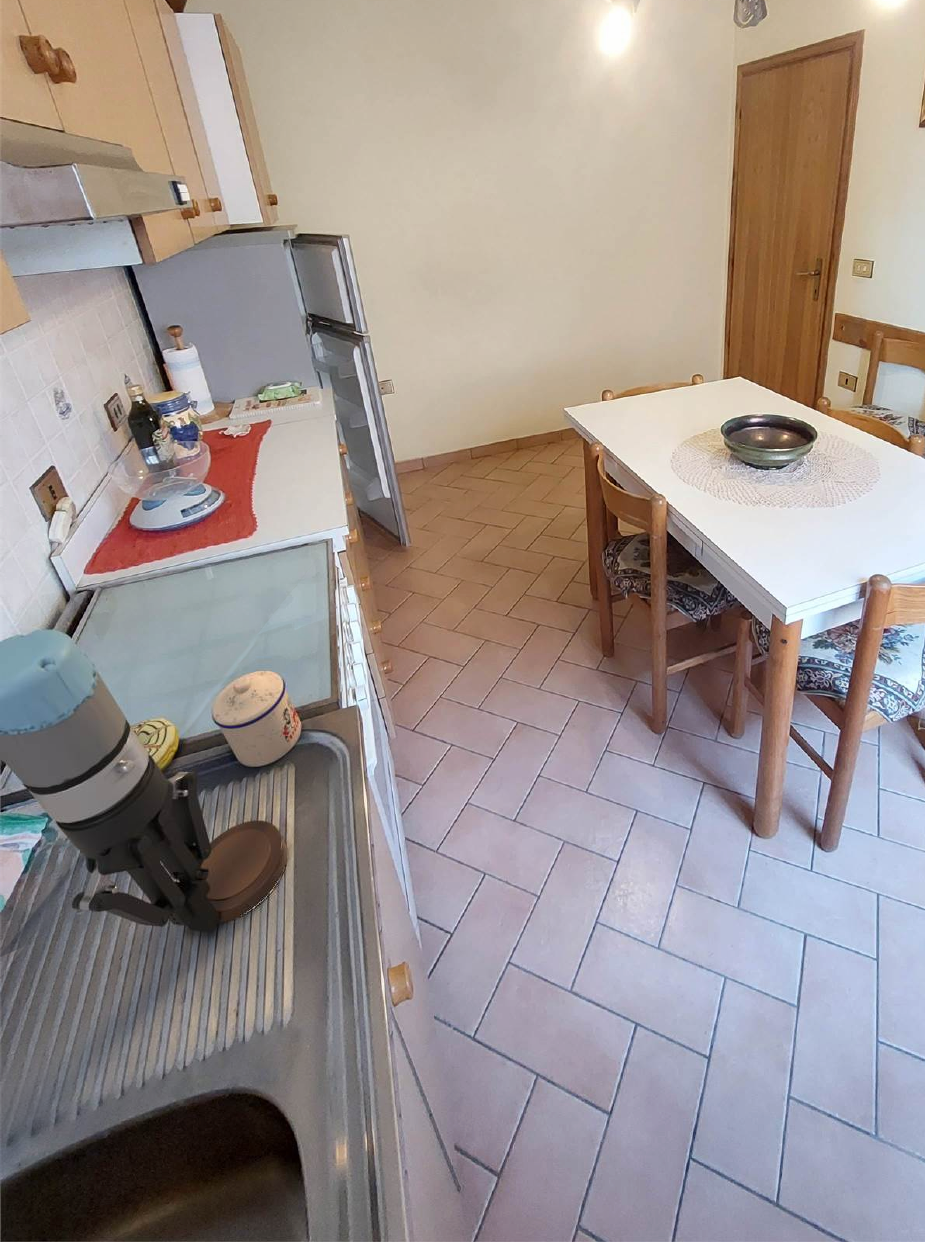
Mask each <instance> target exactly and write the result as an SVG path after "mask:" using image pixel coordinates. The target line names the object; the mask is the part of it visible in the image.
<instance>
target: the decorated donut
mask: <svg viewBox="0 0 925 1242" xmlns="http://www.w3.org/2000/svg"><path fill="white" fill-rule="evenodd" d="M130 726H131V727H132V729H133V730H134V732H135V733H136V735H137V736H138V738H139V739H140V741H141V742H142V744H143V745H144V747H145V749H146V750H147V752H148V754H149V755H150V756H151V757H152V758H153V759H154V761H155V762H156V764H157V766H158V767H159V769H160V770H161V772H162V773H163V771H164V770H165V769H166V768H167V767H168V766H169V765H170V764H171V762H172V761H173V759H174V757H175V755H176V753H177V751H178V747H179V742H180V739H179V738H180V737H179V735H178V733H179V732H178V729H177V727H176V725H174V724H173V723H172V722H170V721H168V720H167V719H165V718H164V717H158V718H149V719H146V720H143V721H141V722H138V723H135V724H132V725H130Z"/></svg>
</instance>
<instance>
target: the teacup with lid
mask: <svg viewBox="0 0 925 1242" xmlns="http://www.w3.org/2000/svg"><path fill="white" fill-rule="evenodd" d="M211 718H212V721H213V723H214V724H215V725H216V726H218V727H219V729H220V730H221V732H222V734H223V736H224V738H225V740H226V741H227V743H228V745H229V747H230V749H231V750H232V752H233V755H234V756H235V757H236V760H237V761H238V762H239V763H240V764H241V765H244V766H246V767H250V768H257V767H258V768H259V767H263V766H267V765H269V764H270V765H271V764H272V763H274V762H276V761H278V760H279V759H281V758H283V757H284V756H286V755H287V754H288V752H290V751H291V750H292V749H293V748H294V746H295V745H296V743H297V742H298V740H299V738H300V736H301V734H302V733H301V732H302V723H301V719H300V717H299V715H298V713H297V711H296V709H295V706H294V704H293V702H292V700H291V698H290V696H289V694H288V692H287V689H286V683H285V680H284V679H283V677H282V676H280V675H279V674H278V673H276V672H273V671H271V670H257V671H252V672H250V673H247V674H244V675H242V676H240V677H238V678H236V679H234V680H232V681H231V682H230V683H229V684H227V685H226V686H225V687H224V688H223V689H222V690H221V691H220V692H219V693H218V695H217V696H216V698H215V699H214V701H213V704H212V708H211Z"/></svg>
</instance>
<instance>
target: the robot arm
mask: <svg viewBox="0 0 925 1242" xmlns="http://www.w3.org/2000/svg"><path fill="white" fill-rule="evenodd" d="M131 726H132V725H131V724H130V723H129V721H128V720H127V718H126V716H125V714H124V712H123V711H122V709H121V708H120V706H119V704H118V703H117V701H116V699H115V698H114V696H113V694H112V693H111V692H110V690H109V688H108V687H107V685H106V683H105V682H104V680H103V679H102V677H101V676H100V673H98V669H97V667H96V665H95V664H94V663H93V661H92V659H91V658H88V656H87V654H86V653H84V652H83V651H82V650H81V649H80V648H79V646H78V645H77V644H76V642H75V641H74V639H73V638H72V637H71V636H70V635H68V634H66V633H65V632H62V631H59V630H56V629H36V630H33V631H30V632H29V633H28V634H25V635H24V634H16V635H12V636H11V637H8V638H6V639H3V640H1V641H0V761H1V762H4V764H5V765H6V766H7V767H8V768H9V769H10V771H11V772H12V773H13V774H14V775H15V776H16V778H18V780H19V781H20V782H21V783H22V785H23V786H24V788H26V790H28V792H29V793H30V795H32V797H33V798H34V799H35V800H36V801H37V803H38V804H39V805H40V806H41V808H42V809H43V810H44V811H45V813H46V814H48V816H49V818H50V819H51V820H52V821H55V824H56V825H57V827H58V828H59V829H60V830H61V831H62V833H63V834H64V835H65V836H66V837H67V838H68V840H69V842H71V843H72V844H73V845H74V847H75V848H76V849H77V850H78V851H80V852H81V853H82V854H83V855H84V858H85V869H86V871H87V872H88V873H90V877H89V881H88V883H87V884H86V885H87V886H86V888H85V891H81V892H80V891H79V892H78V893H77V894H76V895H75V896H74V898H73V899H72V902H71V908H72V909H73V910H79V911H80V910H81V911H88V912H96V913H101V912H102V913H103V912H107V913H110V914H112V915H114V916H117V917H120V918H123V919H125V920H128V921H130V922H131V923H132V922H133V923H135V924H138V925H143V926H151V927H159V928H163V927H165V926H166V925H167V924H168V922H169V921H170V922H171V924H172V925H176V926H183V927H184V926H185V927H187V928H188V929H189V931H194V932H201V933H208V934H214V932H215V930H216V929H217V927H218V925H219V924H220V923H219V922H220V920H221V918H222V917H221V916H220V914H219V913H218V911H217V910H216V909H215V907H214V906H213V904H212V903H211V902H210V900H209V899H208V897H207V894H208V893H209V891H210V885H209V884H208V883H207V881H206V879H207V877H208V874H209V869H204V868H201V864H202V862H203V860H205V859H207V858H208V857H209V856H210V853H211V845H210V843H211V842H210V838H209V835H208V831H207V826H206V823H205V820H204V816H203V812H202V808H201V805H200V800H199V797H198V779H199V776H198V773H197V772H190V771H177V770H174V771H172V772H170V773H169V775H168V777H167V778H166V776H165V775H164V773H163V771H162V772H161V770H160V769H159V767H158V766H157V764H156V762H155V761H154V759H153V758H152V757H151V756H150V755H149V754H148V752H147V750H146V749H145V747H144V745H143V744H142V742H141V741H140V739H139V738H138V736H137V735H136V733H135V732H134V730H133V729H132V727H131ZM122 872H127V873H128V875H129V876H130V878H131V879H132V880H133V881H134V882H135V883H136V885H137V886H138V887H139V888H140V890H141V891H142V892H143V893H144V895H145V896H146V898H147V899H148V900H149V901H150V902H148V901H145V900H144V899H141V898H139V897H137V896H134V895H132V894H130V893H126V892H123V891H122V892H121V891H119V886H117V885H116V884H115V881H112V880H111V879H110V875H113V874H117V873H122ZM175 880H177V881H175Z"/></svg>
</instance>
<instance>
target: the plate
mask: <svg viewBox="0 0 925 1242" xmlns="http://www.w3.org/2000/svg"><path fill="white" fill-rule="evenodd" d="M210 845H211V853H210V856H209V857H208V858H207V859H205V860H203V862H202V864H201V868H204V869H209V874H208V877H207V879H206V881H207V883H208V884H209V885H210V891H209V893H208V894H207V897H208V899H209V900H210V902H211V903H212V904H213V906H214V907H215V909H216V910H217V911H218V913H219V914H220V916H221V917H222V918H221V920H220V922H219V923H218V924H224V923H229V922H232V921H235V920H237V919H236V918H238V917H240V916H241V915H243V914H244V913H246V912H247V911H249V910H250V909H252V908H253V907H254V906H256V905H257V904H258V903H259V902H260V901H262V900H263V899H264V898H265V897H266V896H267V895H268V893H269V892H270V891H271V890H272V889H273V887H274V886H275V884H276V883H277V881H278V880H279V878H280V877H281V875H282V873H283V870H284V867H285V864H286V862H287V863H288V859H287V855H288V856H289V852H287V850H288V845H287V843H286V841H285V839H284V837H283V836H282V834H281V832H280V830H279V828H277V826H276V825H274V824H273V823H271V822H270V821H266V820H257V819H256V820H248V821H244V822H242V823H238V824H236V825H234V826H232V827H229V828H228V829H227V830H225V831H223V832H222V833H220V834H219V835H218V836H217V837H215V838H214V839H213V840H212V841H211V842H210ZM287 853H288V854H287ZM286 865H287V864H286ZM283 874H284V873H283ZM282 876H283V875H282ZM240 918H241V917H240ZM234 919H235V920H234ZM238 919H239V918H238ZM231 920H232V921H231ZM223 922H224V923H223Z"/></svg>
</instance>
